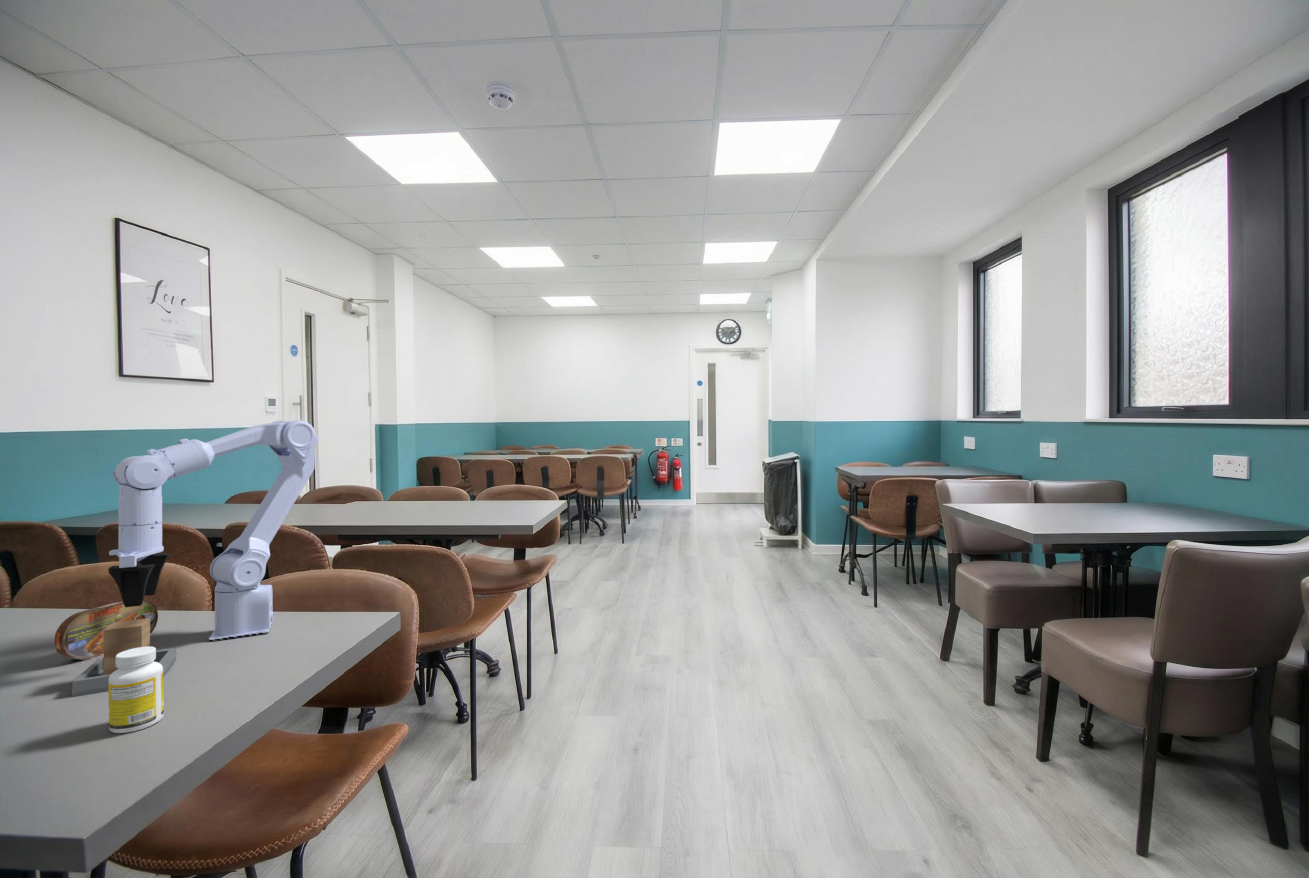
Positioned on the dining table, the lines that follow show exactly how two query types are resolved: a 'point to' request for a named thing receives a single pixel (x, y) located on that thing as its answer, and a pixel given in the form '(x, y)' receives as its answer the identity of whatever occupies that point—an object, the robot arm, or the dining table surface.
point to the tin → (97, 628)
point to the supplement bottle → (135, 691)
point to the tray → (98, 682)
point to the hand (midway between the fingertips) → (140, 600)
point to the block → (124, 640)
